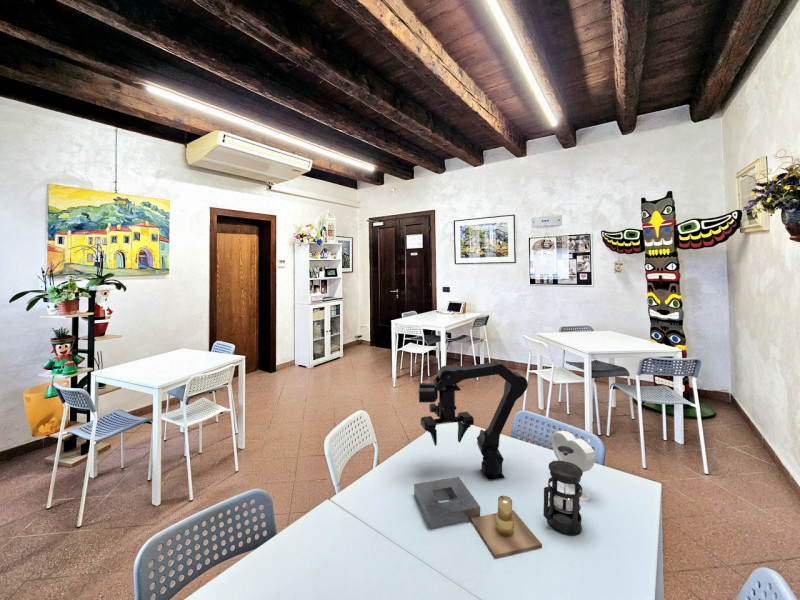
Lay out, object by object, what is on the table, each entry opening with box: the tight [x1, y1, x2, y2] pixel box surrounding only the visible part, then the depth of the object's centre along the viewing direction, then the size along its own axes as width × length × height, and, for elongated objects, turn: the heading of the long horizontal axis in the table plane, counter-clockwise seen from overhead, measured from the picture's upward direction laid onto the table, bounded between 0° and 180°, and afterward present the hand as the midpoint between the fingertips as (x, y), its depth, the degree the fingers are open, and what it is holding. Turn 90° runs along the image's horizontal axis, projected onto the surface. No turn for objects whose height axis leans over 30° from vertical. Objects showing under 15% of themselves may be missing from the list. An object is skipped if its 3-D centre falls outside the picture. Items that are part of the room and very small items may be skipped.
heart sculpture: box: [550, 430, 596, 501], centre depth 117 cm, size 16×5×18 cm, turn 17°
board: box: [470, 509, 543, 559], centre depth 98 cm, size 14×14×1 cm
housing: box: [413, 476, 481, 530], centre depth 109 cm, size 16×16×4 cm
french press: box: [542, 446, 584, 537], centre depth 100 cm, size 12×9×23 cm
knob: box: [496, 495, 514, 537], centre depth 97 cm, size 5×5×9 cm
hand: (447, 443), depth 125 cm, fingers open, 9 cm apart
